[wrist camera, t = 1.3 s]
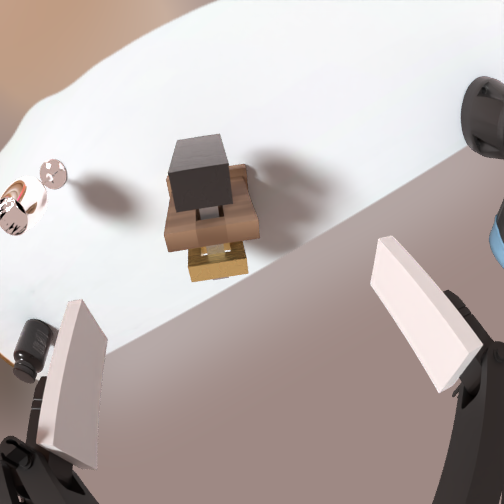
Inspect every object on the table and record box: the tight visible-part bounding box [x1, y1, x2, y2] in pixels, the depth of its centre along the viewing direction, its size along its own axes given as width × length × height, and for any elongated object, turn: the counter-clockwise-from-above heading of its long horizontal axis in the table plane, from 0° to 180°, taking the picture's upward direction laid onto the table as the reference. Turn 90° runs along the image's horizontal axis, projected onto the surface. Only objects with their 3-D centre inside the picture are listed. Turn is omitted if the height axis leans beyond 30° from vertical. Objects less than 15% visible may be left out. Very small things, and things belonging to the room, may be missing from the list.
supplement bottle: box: [13, 319, 53, 383], centre depth 44 cm, size 7×7×12 cm
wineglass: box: [0, 159, 67, 236], centre depth 28 cm, size 6×6×12 cm
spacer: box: [188, 241, 248, 282], centre depth 34 cm, size 2×6×6 cm, turn 95°
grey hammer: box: [168, 134, 233, 280], centre depth 27 cm, size 16×4×9 cm, turn 5°
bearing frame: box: [164, 164, 260, 252], centre depth 35 cm, size 10×10×13 cm
